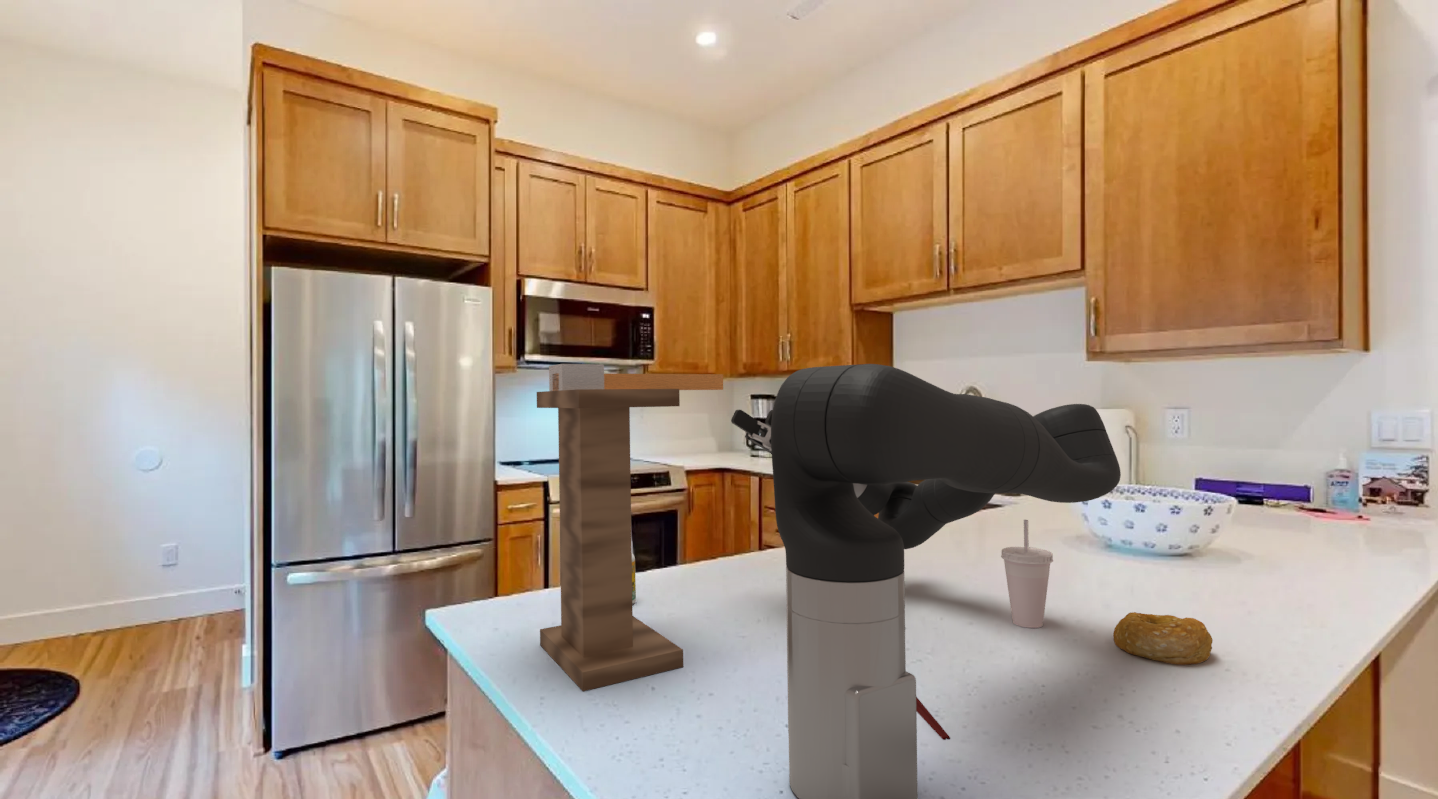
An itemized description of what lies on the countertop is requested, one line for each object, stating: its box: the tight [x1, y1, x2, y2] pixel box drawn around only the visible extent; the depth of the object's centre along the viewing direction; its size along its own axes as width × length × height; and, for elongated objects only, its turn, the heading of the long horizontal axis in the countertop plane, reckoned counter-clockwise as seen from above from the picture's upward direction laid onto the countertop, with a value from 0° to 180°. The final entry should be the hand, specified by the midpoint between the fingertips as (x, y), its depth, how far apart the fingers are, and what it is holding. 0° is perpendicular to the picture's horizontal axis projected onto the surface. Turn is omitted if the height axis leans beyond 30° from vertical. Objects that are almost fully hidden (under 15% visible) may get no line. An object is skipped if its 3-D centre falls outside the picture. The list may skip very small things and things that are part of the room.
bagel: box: [1112, 611, 1214, 666], centre depth 81 cm, size 10×11×5 cm
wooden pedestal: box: [536, 389, 684, 692], centre depth 81 cm, size 16×12×32 cm
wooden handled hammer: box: [548, 363, 724, 391], centre depth 84 cm, size 5×22×3 cm, turn 121°
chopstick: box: [916, 696, 951, 741], centre depth 72 cm, size 2×24×1 cm, turn 7°
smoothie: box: [1000, 519, 1054, 629], centre depth 91 cm, size 6×6×14 cm
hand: (751, 415), depth 92 cm, fingers open, 8 cm apart
